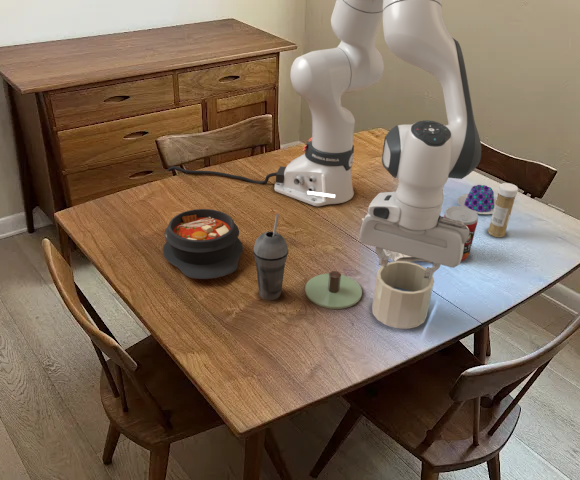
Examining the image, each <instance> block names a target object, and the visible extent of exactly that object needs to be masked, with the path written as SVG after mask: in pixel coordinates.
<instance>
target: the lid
mask: <svg viewBox="0 0 580 480" xmlns="http://www.w3.org/2000/svg"><path fill="white" fill-rule="evenodd" d="M304 292H305V295H306V297H307V299H308V300H309V301H310V302H312V303H313V304H315V305H317V306H319V307H321V308H325V309H331V310H342V309H348V308H350V307H353V306H355V305H357V303H359V301H360V300H361V299H362V296H363V289H362V287H361V285H360V284H359V282H358V281H356V279H354V278H352V277H350V276H348V275H344V274H342V273H341V272H339V271H337V270H332V271H330V272H329V273H328V272H327V273H320V274H318V275H315V276H313V277H311V278H310V279H308V281H307V282H306V283H305V287H304Z"/></svg>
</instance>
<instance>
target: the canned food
mask: <svg viewBox="0 0 580 480" xmlns="http://www.w3.org/2000/svg"><path fill="white" fill-rule="evenodd" d="M443 217H446V218H449V219H452V220H456V221H457V220H458V221H461V222H463V224H464V225H466V226H467V227H468V228H469V231H470V233H469V237H468V240H467V242H466V243H464V250H463V256H462V259H461V262H464V261H466V260H467V259H468V258H469V255H470V253H471V249H472V245H473V242H474V237H475V233H476V229H477V226H478V221H479V215H478V213H476V212H475V211H473V210H471V209H469V208H466V207H462V206H460V205H453V206H449V207H448V208H446V209H445V212H444V215H443Z"/></svg>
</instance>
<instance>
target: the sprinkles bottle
mask: <svg viewBox="0 0 580 480" xmlns="http://www.w3.org/2000/svg"><path fill="white" fill-rule="evenodd" d="M518 192H519V187H518V186H517V185H515V184H513V183H510V182H503V183H500V184H499V185H498V189H497V196H496V203H495V206H494V210H493V214H491V217H490V223H489V227H488V229H487V233H488V234H489V235H490V236H492V237H494V238H503V237H505V236H506V235H507V228H508V225H509V222H510V220H511V219H510V218H511V216H512V210H513V207H514V203H515V200H516V197H517V196H518Z"/></svg>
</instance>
